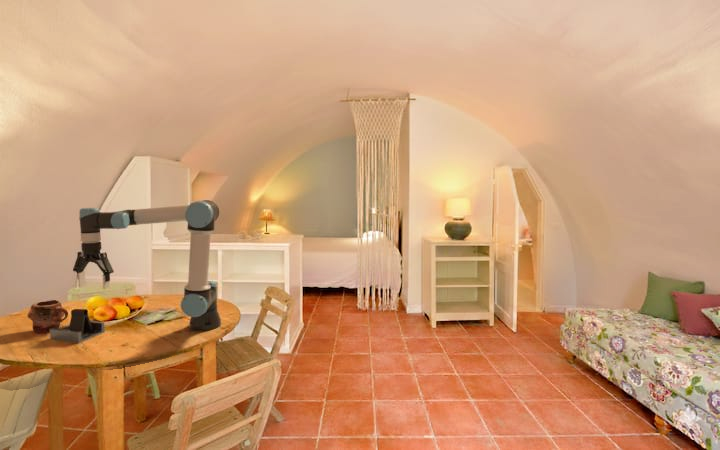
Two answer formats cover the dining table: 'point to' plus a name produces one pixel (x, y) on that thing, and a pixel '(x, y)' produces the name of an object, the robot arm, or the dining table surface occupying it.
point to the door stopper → (80, 321)
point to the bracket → (75, 333)
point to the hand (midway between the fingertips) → (94, 287)
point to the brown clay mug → (47, 316)
